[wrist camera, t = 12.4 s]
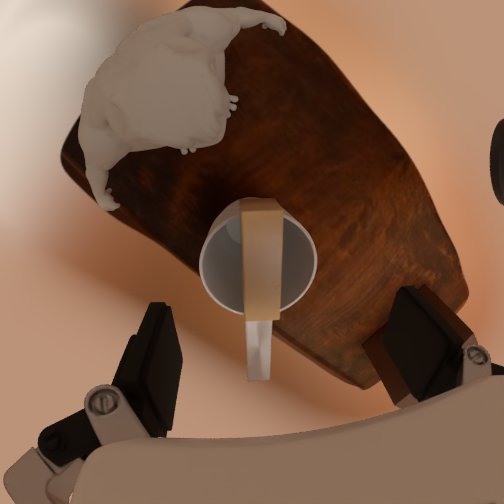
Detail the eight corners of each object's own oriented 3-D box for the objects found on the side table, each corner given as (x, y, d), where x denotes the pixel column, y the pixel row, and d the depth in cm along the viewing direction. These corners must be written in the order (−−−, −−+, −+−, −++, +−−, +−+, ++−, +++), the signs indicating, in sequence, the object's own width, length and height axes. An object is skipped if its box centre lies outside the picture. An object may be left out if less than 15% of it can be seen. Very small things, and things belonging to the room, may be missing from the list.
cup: (271, 268, 30) (289, 325, 21) (199, 247, 28) (187, 300, 19) (300, 199, 27) (335, 232, 18) (223, 173, 25) (219, 193, 16)
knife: (239, 198, 16) (241, 211, 14) (274, 197, 17) (284, 210, 14) (246, 377, 23) (248, 402, 20) (270, 375, 23) (274, 400, 20)
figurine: (166, 207, 26) (84, 316, 10) (119, 166, 24) (-12, 221, 8) (292, 79, 22) (391, 2, 5) (242, 36, 20) (263, -87, 3)
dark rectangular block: (424, 283, 33) (473, 333, 22) (437, 302, 35) (480, 348, 24) (361, 345, 36) (394, 405, 25) (379, 357, 38) (410, 412, 27)
